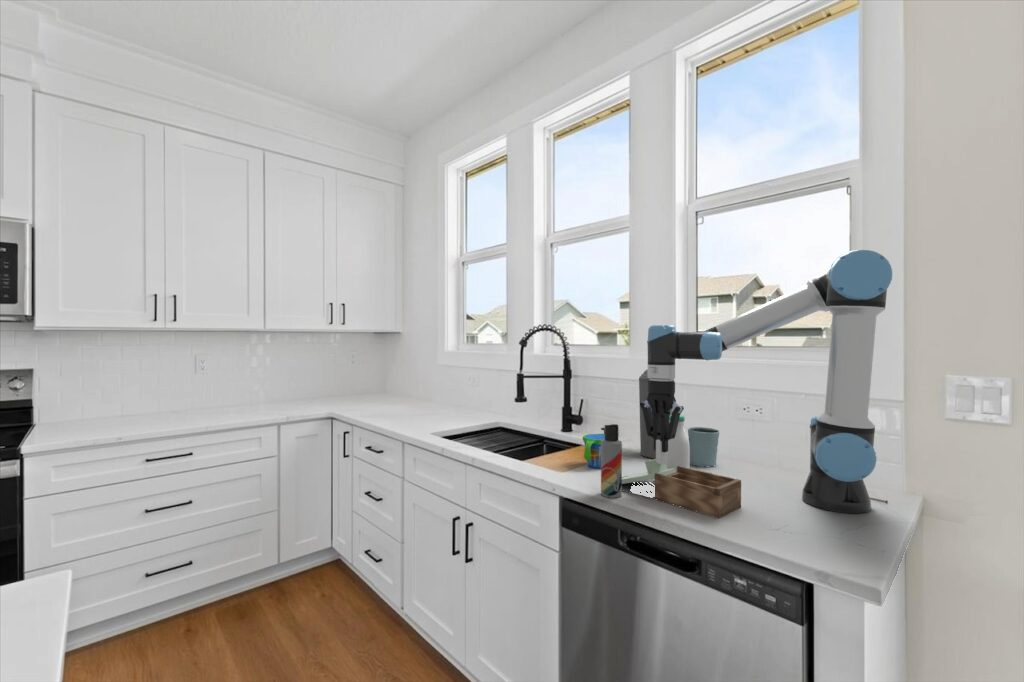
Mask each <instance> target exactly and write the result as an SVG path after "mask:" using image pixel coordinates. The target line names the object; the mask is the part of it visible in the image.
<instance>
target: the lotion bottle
mask: <svg viewBox="0 0 1024 682" xmlns="http://www.w3.org/2000/svg"><path fill="white" fill-rule="evenodd" d="M603 432H604V433H603V434H604V439H605V440H602V441H601V468H600V494H601V496H603V497H605V498H608V497H610V498H609V499H616V498H615V497H617V498H620V497H622V477H623V473H622V471H623V469H622V468H623V467H622V466H623V464H622V463H623V460H622V459H623V457H622V455H623V453H622V452H623V448H622V447H623V444H622V443H623V442H622V441H621V440H619V424H618V423H617V424H615V423H611V424H605V425H604V431H603Z"/></svg>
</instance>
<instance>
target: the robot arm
mask: <svg viewBox="0 0 1024 682" xmlns="http://www.w3.org/2000/svg"><path fill="white" fill-rule="evenodd" d="M892 280H893V268H892V265H891V263H890V262H889V260H888V259H887V258H886V257H885V256H883V254H881V253H879V252H878V251H874V250H870V249H855V250H851V251H848V252H846V253H845V252H844V253H843V254H841V255H840V256H838V257H837V258H835V260H834V261H833V263H832V264H831V266H830V267H829V268H827V269H825V271H823V272H821V273H820V274H818V275H816V276H814V277H812V278H810V279H808V280H807V283H806V284H805V285H804V286H801V287H799V288H797V289H795V290H793V291H790V292H788V293H786V294H783V295H781V296H779V297H778V298H775V299H772V300H771V301H769V302H768V301H767V302H766V303H763V304H761V305H759V306H757V307H755V308H752V309H751V310H748V311H747V312H746V311H745V312H744V313H742V314H739V315H738V316H735V317H733V318H730V319H728V320H726V321H724V322H722V323H719V324H717V325H716V326H713V327H711V328H708V329H706V330H704V331H693V332H692V331H691V332H689V331H688V332H686V331H685V332H683V331H682V332H681V331H677V329H676V326H675V325H672V324H669V325H668V324H667V325H665V324H664V325H663V324H659V325H656V324H655V325H654V324H653V325H650V326H649V327H648V330H647V331H648V332H647V340H646V343H647V369H648V378H650V380H648V381H647V391H648V397H647V400H646V401H644V402H641V403H640V402H639V407H640V406H641V408H642V410H643V415H644V420H645V425H646V430H647V435H648V436H651V437H652V438H653V439H654V450H656V463H658V464H662V463H666V452H668V441H669V440H670V439H674V438H675V435H676V431H677V426H678V422H679V418H680V415H682V412H683V411H684V409H685V408H684V406H682V405H679V404H678V403H677V400H676V397H675V393H676V381H675V379H676V359H677V360H696V361H697V360H701V361H702V360H703V361H704V360H705V361H713V360H714V361H716V360H720V359H721V357H722V353H723V352H725V351H726V350H729V349H732V348H734V347H736V346H738V345H740V344H743V343H745V342H747V341H751V340H752V339H755V338H757V337H760V336H761V335H764V334H767V333H769V332H772V331H775V330H776V329H778V328H781V327H784V326H786V325H788V324H791V323H793V322H794V321H798V320H801V319H803V318H805V317H808V316H809V315H811V314H814V313H816V312H819V311H822V312H829V313H830V314H831V315H832V319H831V330H830V343H829V344H830V345H829V353H828V354H829V355H828V367H827V379H826V389H825V391H826V392H825V402H824V403H825V404H824V411H823V413H821V414H820V415H818V416H813V417H811V419H810V425H809V429H810V431H809V432H810V437H809V441H810V443H809V446H810V449H809V451H810V452H809V455H810V456H809V457H810V459H809V461H810V462H809V464H810V465H809V473H808V476H807V478H806V480H805V483H804V486H803V488H802V492H801V493H802V496H801V497H802V500H803V501H804V502H805V503H807V504H809V505H811V506H813V507H816V508H819V509H823V510H827V511H832V512H837V513H846V514H865V513H868V512H870V511H871V509H872V507H871V505H872V504H871V497H870V495H869V492H868V490H867V489H868V488H867V487H866V485H865V482H864V479H866V478H867V477H868V476H870V475H871V474H872V473H873V471H874V470H875V467H876V463H877V453H876V451H875V448H874V445H875V444H874V443H875V432H876V425H875V424H874V423H873V422H872V421H871V419H870V418H869V408H870V407H869V406H870V397H871V396H870V395H871V385H872V372H873V371H872V370H873V360H874V348H875V335H876V324H877V316H878V315H879V314H881V313H883V312H884V311H885V310H886V303H887V295H888V294H887V293H888V288H889V287H890V285H891V284H892ZM673 379H674V381H673ZM650 406H651V408H652V412H651V408H650ZM672 407H673V409H672ZM671 409H672V411H673V412H672V415H671V419H670V424H669V416H670V410H671ZM652 415H653V417H652ZM660 438H661V439H660Z"/></svg>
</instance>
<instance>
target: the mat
mask: <svg viewBox="0 0 1024 682" xmlns="http://www.w3.org/2000/svg"><path fill="white" fill-rule="evenodd" d="M627 476H628V475H625V476H622V478H623V477H627ZM640 482H642V483H643V484H644V485H647V484H646V483H645V482H647V483H648V484H649V485H651V486H653V485H652V484H650V483H649V482H652V483H653V484H654V485H655V481H651V480H645V481H638V483H639V484H640V485H642V486H643V484H642V483H640ZM638 483H637V482H635V484H634V483H633V482H631V483H625V484H622V490H624V492H626V491H627V493H629V492H631V491H630V489H631V486H633V485H635V486H637V485H639V484H638ZM632 484H633V485H632ZM640 485H639V486H640ZM653 487H654V486H653ZM646 492H647V491H646ZM650 492H651V491H650ZM640 493H641V492H640ZM647 493H648V492H647ZM651 493H652V492H651ZM630 494H632V492H631V493H630ZM649 498H650V497H649ZM649 498H648V499H649Z"/></svg>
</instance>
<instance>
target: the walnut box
mask: <svg viewBox="0 0 1024 682" xmlns="http://www.w3.org/2000/svg"><path fill="white" fill-rule="evenodd" d="M654 483H655V497H654V500H655V499H657V500H656V501H658V500H660V501H659V502H662V501H664V502H663V503H665V502H667V503H666V504H668V503H670V504H669V505H672V504H674V505H673V506H675V505H677V506H676V507H678V506H681V507H680V508H682V507H684V508H683V509H685V508H687V509H686V510H688V509H690V510H689V511H692V510H693V511H692V512H695V511H697V512H696V513H699V512H700V513H699V514H702V513H703V514H702V515H705V514H707V515H706V516H709V515H710V516H709V517H712V516H714V517H713V518H715V517H717V518H716V519H720V518H723V517H724V516H726V515H728V514H731V513H732V512H734V511H736V510H738V509H740V508H742V479H738V478H733V477H729V476H725V475H719V474H717V473H716V474H715V473H712V472H707V471H702V470H699V469H694V468H691V467H690V468H686V467H681V466H677V472H675V473H672V474H669V475H662V474H658V473H655V479H654Z"/></svg>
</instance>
